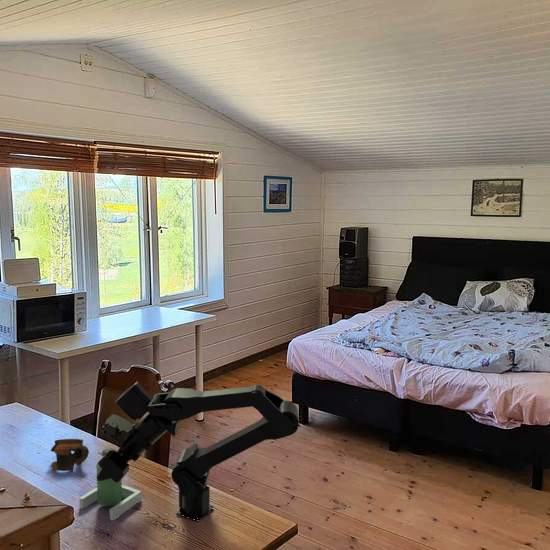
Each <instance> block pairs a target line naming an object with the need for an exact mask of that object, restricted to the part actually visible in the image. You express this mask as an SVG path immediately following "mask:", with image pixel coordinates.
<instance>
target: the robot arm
mask: <svg viewBox="0 0 550 550" xmlns="http://www.w3.org/2000/svg"><path fill="white" fill-rule="evenodd" d="M114 404H115V405H116V406H117V407H118V408H119V409H120V410H121V411H122V412H124V414H125V415H126V416H127V417H128V418H130V419H131V420H132V421H136V420H140V421H139V422H136V423H134V424H133V423H132V422H130V421H129V420H127V419H125V418H124V417H121V416H119V415H118V414H111V415H110V416H109V417H108V418H107V419H106V420H105V422H104V424H103V426H102V427H100V430H101V434H102V435H103V436H104V437H105V438H107V439H109V440H114V441H116V443H115V445H116V446H117V447H118V449H117V450H115V449H114V450H115V451H114V450H110V451H109V452H108V453H107V454H105V455H104V456H102V457H101V459H100V460H99V461H98V462H97V463H98V465H99V466H100V467H101V468H102V470H101V471H100V473H99V474H98V476H97V475H96V480H97V479H98V480H99V481H102V480H106V479H110V478H111V479H112V480H113V481H114V482H117V483H118V482H119V481H120V480H121V479H122V480H123V478H124V477H125V476H126V475H127V473H128V472H129V471H130V464H129V463H128V462H130V461H134V463H135V462H136V461H138V460H139V458H140V457H141V456H142V455H143V454H144V453H145V452H146V451H148V450H149V449H150V448H151V447H152V445H154V444H155V442H157V440H159V439H160V438H161V437H162V436H163V435H165V433H166V432H168V433H169V434H170V435H171V436H172V437H174V436H176V435H177V433H178V431H179V429H180V426H179V422H180V421H182V420H186V419H190V418H192V417H194V416H197V415H198V414H201V413H205V412H213V411H223V410H233V409H241V408H243V409H244V408H254V409H255V410H257V412H258V413H259V414H260V415H261V416H262V417H261V418H260V419H259V420H258V421H256V422H254V423H252V424H250V425H248V426H246V427H244V428H243V429H242V428H241V429H240V430H238V431H236V432H234V433H232V434H230V435H228V436H227V437H225V438H223V439H220V440H219V441H217V442H215V443H212V444H211V445H209V446H206V447H199V445H198V443H197V442H196V443H194V444H192V445H191V446H190V447H188V448H182V450H181V452H180V454H179V455H178V456H177V459H176V461H175V464H174V466H173V468H172V471H171V479H172V482H173V483H174V484H175V485H176V486H177V487H178V507H179V508H178V509H177V510H176V511H175V514H176V513H177V514H180V515H184V516H186V517H189V518H192V519H195V520H199V519H200V518H202V517H203V516H204V515H205V514H206V513H208V512H209V511H210V510H211V509H212V508H213V509H214V505H212V504H210V503H211V502H210V501H211V500H210V497H211V496H210V494H211V492H210V490H211V489H210V488H211V487H210V486H208V484H207V482H208V479H209V475H210V470H211V469H212V468H213V467H216V466H218V465H219V464H222V463H223V462H225V461H227V460H230V459H231V458H234V457H235V456H237V455H239V454H241V453H243V452H245V451H247V450H249V449H251V448H253V447H255V446H257V445H258V444H261V443H262V442H264V441H268V440H270V441H271V440H281V439H284V438H286V437H289V436H292V435H294V434H295V433H296V432H297V431H298V429H299V426H300V419H299V409H298V407H297V406H296V404H295V403H293V402H291V401H288V400H284V399H283V398H282V397H280V396H279V395H277V394H276V393H273V392H271V391H270V390H268V389H266V388H265V387H264V386H262V385H261V384H254V385H249V386H243V387H242V386H241V387H240V386H239V387H233V388H231V387H230V388H224V389H214V390H205V391H202V390H197V389H194V388H185V387H184V388H183V387H177V388H173V389H171V390H170V391H168V392H162V393H160V392H159V393H156V394H154V396H152V395H151V394H149V392H148V391H147V390H146V389H144V387H143V386H142V385H141V384H140V382H138V381H136V382H135V383H134V384H132V385H131V386H130V387H128V388H127V389H126V390H125V391H123V393H122V394H121V395H119V397H118V398H117V399H116V400H115V402H114ZM147 413H148V414H147ZM146 414H147V415H146ZM145 415H146V416H145ZM144 416H145V417H144ZM142 418H143V419H142ZM141 419H142V420H141ZM213 509H212V510H213ZM212 510H211V511H212ZM211 511H210V512H211ZM210 512H209V513H210ZM209 513H208V514H209ZM177 514H176V515H177ZM180 515H179V516H180ZM205 516H206V515H205ZM205 516H204V517H205ZM186 517H185V518H186ZM204 517H203V518H204ZM189 518H188V519H189ZM197 518H198V519H197ZM203 518H202V519H203Z"/></svg>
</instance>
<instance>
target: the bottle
mask: <svg viewBox="0 0 550 550" xmlns="http://www.w3.org/2000/svg"><path fill="white" fill-rule="evenodd" d="M110 450H114V451H116V450H115V449H114V448H105V449H103V450H102V451H101V456H102V457H103V456H104V455H105V454H107V453H108V452H109V451H110ZM95 466H96V477H97V476H98V474H99V473H100V471H101V470H102V468H101V467H100V466H99V465H98V462H97V463H96V465H95ZM122 485H123V478H122V479H121V480H120V481H119V482H118V483H117V482H114V481H113V480H112V479H111V478H110V479H106V480H102V481H99V480H98V479H97V478H96V488H97V495H98V500H97V503H98V504H99V505H100V506H103V507H104V506H105V507H111V506H116V505H117V504H119V503H120V502H122V501H123V497H122Z"/></svg>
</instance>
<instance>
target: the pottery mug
mask: <svg viewBox="0 0 550 550" xmlns="http://www.w3.org/2000/svg"><path fill="white" fill-rule="evenodd" d="M83 443H84V440H83V439H80V438H64V439H63V438H61V439H56V440H54V445H53V446H52V447H51V449H50V452H52V453H55V454H56V455H55V456H56V458H55V459H56V461H53V462H51V468H52V469H51V470H52V471H53V472H57V471H61V472H62V471H63V472H67V471H69V472H70V471H74V469H75V468H74V467H75V465H77V467H78V466H81V465H82V463H83V462H85V461H86V460H87V458H88V457H89V452H90V451H89V448H88V447H87V446H86V445H84V444H83ZM72 452H73V453H72Z"/></svg>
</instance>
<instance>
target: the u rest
mask: <svg viewBox="0 0 550 550" xmlns="http://www.w3.org/2000/svg"><path fill="white" fill-rule="evenodd" d="M122 498H124V499H122V500H121V501H120V502H119V503H117V504H115V505H113V507H111V508H110V509H109V520H110V519H112V520H114V519H115V518H117V517H118V516H120V515H121V514H122V515H124V514H125V513H126V512H125V511H127V510H128V509H129V510H131V509H132V508H133V507H132V506H134V505H135V504H136V503H138V502H139V503H141V502H142V501H143V500H142V491H141V490H139V489H135V488H133V487H130V486H127V485H125V484H122ZM141 500H142V501H141ZM96 501H98V495H97V487H95V488H94V489H92V490H89V492H87V493H86V494H84V495H82V496H81V497H79V509H81V508H82V509H81V510H83V508H84V509H85V508H87V507H88V505H89V506H91V504H94V503H95V502H96ZM140 501H141V502H140ZM139 503H138V504H139ZM135 506H136V505H135ZM135 506H134V507H135ZM131 507H132V508H131ZM130 508H131V509H130ZM129 510H128V511H129ZM128 511H127V512H128ZM124 512H125V513H124ZM123 513H124V514H123ZM122 515H121V516H122ZM121 516H120V517H121ZM118 518H119V517H118ZM118 518H117V519H118ZM112 520H111V521H112ZM115 520H116V519H115ZM115 520H114V521H115Z"/></svg>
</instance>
